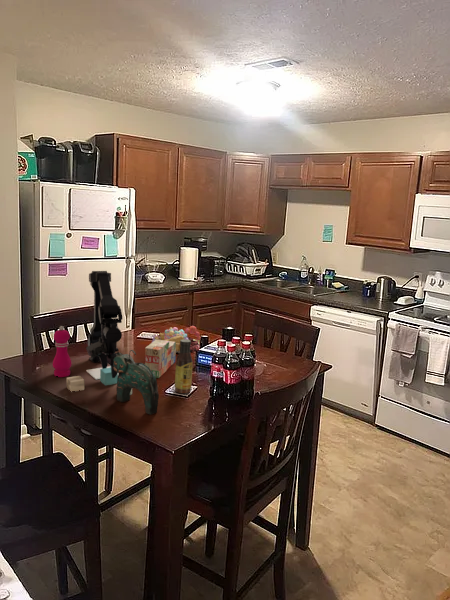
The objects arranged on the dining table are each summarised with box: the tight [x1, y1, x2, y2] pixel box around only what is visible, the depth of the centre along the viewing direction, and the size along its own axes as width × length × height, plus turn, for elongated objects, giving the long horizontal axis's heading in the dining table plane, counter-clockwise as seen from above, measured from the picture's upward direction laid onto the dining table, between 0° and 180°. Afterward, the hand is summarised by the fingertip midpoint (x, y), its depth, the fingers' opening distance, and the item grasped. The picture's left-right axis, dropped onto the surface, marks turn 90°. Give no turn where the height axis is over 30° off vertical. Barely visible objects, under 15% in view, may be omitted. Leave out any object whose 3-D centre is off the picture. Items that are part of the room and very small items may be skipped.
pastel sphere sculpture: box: [151, 325, 202, 354], centre depth 245 cm, size 25×24×9 cm
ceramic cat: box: [113, 349, 160, 416], centre depth 174 cm, size 20×6×20 cm, turn 51°
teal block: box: [99, 368, 118, 386], centre depth 195 cm, size 5×5×5 cm
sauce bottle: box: [174, 339, 194, 394], centre depth 189 cm, size 6×6×20 cm
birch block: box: [66, 375, 85, 393], centre depth 188 cm, size 5×5×4 cm
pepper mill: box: [52, 325, 72, 378], centre depth 199 cm, size 7×7×20 cm
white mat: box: [85, 365, 111, 381], centre depth 205 cm, size 11×11×1 cm
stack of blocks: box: [144, 340, 177, 379], centre depth 213 cm, size 21×6×12 cm, turn 167°
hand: (108, 373), depth 195 cm, fingers open, 9 cm apart
